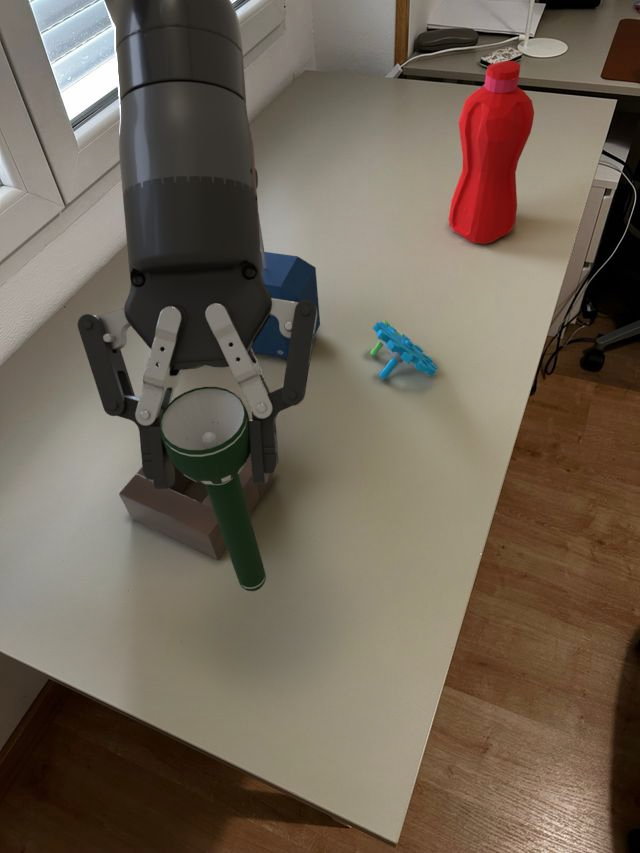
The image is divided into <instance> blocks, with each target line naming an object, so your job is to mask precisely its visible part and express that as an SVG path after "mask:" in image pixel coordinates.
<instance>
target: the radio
mask: <svg viewBox="0 0 640 853" xmlns="http://www.w3.org/2000/svg"><path fill="white" fill-rule="evenodd" d="M258 216H259V217H260V214H259V212H258ZM260 220H261V218H259V230H260V245H261V259H262V274H263V280H264V283H265V286H266V288H267V290H268V291H269V293H270V294H271V296H272V298H274V299H280V300H286V301H293V302H301V301H303V300H308V301H310V302H312V303H313V304H314V305H315V307H316V309H317V322H316V328H315V334H314V337H316V334H317V332H318V330H319V328H320V327H321V316H320V305H319V293H318V280H317V268H316V267H315V266H314V265H312V264H311V263H309V262H307V261H306V260H305V259H303V258H301V257H299V256H297V255H291V254H284V253H277V252H268V251H265V248H264V240H263V234H262V228H261V227H262V226H261V221H260ZM289 344H290V338H287V337H285V336H283V335H282V334H281V332H280V330H279V321H278V319H277V318H276V317H275V316H272V315H271V316H270V318H269V319H268V321H267V323H266V324H265V326H264V328H263V329H262V331H261V332H260V334H259V336H258V337H257V339H256V340H255V342H254V344H253V345H252V347H251V348H252V350H253V352H254V354H255V355H256V354H257V355H263V356H269V357H274V358H279V359H284V360H287V357H288V351H289Z"/></svg>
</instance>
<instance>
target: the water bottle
mask: <svg viewBox="0 0 640 853" xmlns="http://www.w3.org/2000/svg"><path fill="white" fill-rule="evenodd" d="M520 71H521V65H520V64H519V63H518V62H516V61H514V60H503V61H497V62H495V63H494V62H493V63H492V64H489V65H488V66H487V67H486V71H485V72H486V73H485V78H484V84H483V85H481V86H479V87H478V89H476V90H474V91H473V92H472V93H471V94H470V95H468V97H467V98H466V99H465V101H464V104H463V106H462V110H461V113H460V116H459V120H458V130H459V138H460V146H461V154H462V166H461V167H462V169H461V172H460V175H459V178H458V181H457V184H456V187H455V189H454V192H453V195H452V198H451V200H450V207H449V213H448V214H449V215H448V223H449V227H450V228H451V229H452V231H453V232H454V233H456V234H458V235H460V236H461V237H463V238H464V239H465V240H466V241H468V242H471V243H473V244H483V245H485V244H489V243H492V242H495V241H496V240H498V239H499V238H501V237H504V236H507V235H508V234H509V233H510V232H511V231H512V230H513V228H514V227H515V224H516V219H517V211H518V195H517V194H518V192H517V177H516V172H517V168H518V163H519V161H520V158H521V156H522V154H523V152H524V150H525V147H526V144H527V142H528V140H529V138H530V136H531V133H532V128H533V123H534V117H535V110H534V105H533V100H532V99H531V98H530V97H529V95H528V94H527V93H526V92H525V91H524V90H523V89H521V88H520V87H519V86H518V84H519V79H521V77H520Z"/></svg>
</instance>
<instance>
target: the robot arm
mask: <svg viewBox="0 0 640 853" xmlns="http://www.w3.org/2000/svg"><path fill="white" fill-rule="evenodd" d="M103 3H104V6H105V8H106V11H107V13H108V16H109V19H110V21H111V24H112V27H113V30H114V53H115V54H114V55H115V66H116V77H117V78H116V79H117V90H118V101H119V118H120V119H119V131H118V132H119V134H118V153H119V154H118V156H119V168H120V179H121V188H122V190H121V191H122V202H123V213H124V214H123V215H124V224H125V235H126V237H125V238H126V249H127V260H128V271H129V272H128V274H129V279H130V288H129V293H128V296H127V298H126V300H125V302H124V306H123V307H122V308H120V309H117V310H113V311H110V312H107V313H104V314H100V315H94V314H90V313H86V314H82V315H81V316H80V317H79V319H77V320H78V321H77V329H78V332H79V336H80V339H81V342H82V345H83V348H84V351H85V354H86V358H87V361H88V364H89V367H90V370H91V373H92V377H93V381H94V382H95V386H96V389H97V392H98V395H99V398H100V401H101V404H102V408H103V410H104V412H105V413H106V414H107V415H109V416H111V417H118V418H122V419H126V420H129V421H131V422H133V423H134V424H135V425H136V426H137V428H138V431H139V432H138V433H139V444H140V454H141V456H140V457H141V468H142V469H143V473H144V475H145V477H146V479H147V480H153V481H154V487H155V489H168V488H170V487H171V486H173V485H174V482H175V472H174V465H173V464H172V462H171V460H170V457H169V455H168V453H167V450H166V448H165V445H164V442H163V440H162V437H161V432H160V421H161V417H162V414H163V412H164V410H165V409H166V407H167V406H168V404H169V403H171V402H172V399H173V395H174V392H175V390H176V388H177V386H178V384H179V381H180V379H181V375H182V372H183V371H184V370H196V369H199V368H202V367H205V366H207V367H213V368H229V369H230V372H231V373H232V375H233V377H234V379H235V381H236V383H237V384H238V386H239V387H240V389H241V391H242V393H243V396H244V398H245V400H246V402H247V404H248V406H249V409H250V411H251V419H249V420H250V421H248V423H249V437H250V450H251V464H252V478H253V483H254V484H263V483H266V482H267V480H268V473H273V474H274V473H275V471H276V470H277V466H278V464H279V452H278V451H279V449H278V448H279V447H278V435H277V417H278V415H279V413H281V412H282V411H284V410H286V409H289V408H292V407H293V406H297V405H299V404H300V403H302V402H303V401H304V399H305V397H306V391H307V385H308V379H309V371H310V366H311V359H312V354H313V347H314V340H315V336H314V334H315V328H316V322H317V309H316V307H315V305H314V304H313V303H312V302H310V301H308V300H303V301H301V302H293V301H286V300H280V299H274V298H272V296H271V294H270V293H269V291H268V290H267V288H266V286H265V283H264V280H263V274H262V259H261V245H260V230H259V219H260V215H259V216H258V213H259V204H258V202H259V201H258V191H257V189H258V185H259V177H258V170H257V169H256V161H255V160H256V159H255V150H254V142H253V136H252V130H251V126H250V122H249V117H248V109H247V94H246V80H245V78H246V77H245V66H244V64H245V63H244V52H243V40H242V33H241V28H240V21H239V17H238V14H237V11H236V9H235V7H234V4H233V2H232V1H231V0H103ZM271 315H272V316H275V317H276V318H277V319H278V321H279V330H280V332H281V334H282V335H283V336H285V337H287V338H290V344H289V351H288V357H287V359H286V364H285V370H284V371H285V372H284V378H283V385H282V387H280V388H278V389H276V390H273V391H271V389H270V387H269V384H268V382H267V380H266V379H265V376H264V373H263V370H262V367H261V365H260V363H259V361H258V359H257V357H256V354H255V353H254V352H253V350H252V348H251V347H252V345H253V344H254V342H255V340H256V339H257V337H258V336H259V334H260V332H261V331H262V329H263V328H264V326H265V324H266V323H267V321H268V319H269V318H270V316H271ZM130 328H132V329H133V330H134V331H135V332H136V334H137V335H138V336H139V337H140V338H141V340H142V341H143V342H144V343H145V344H146V346H147V347H148V348H149V349H150V352H149V354H148V355H149V356H148V359H147V362H146V366H145V369H144V373H143V375H142V384H143V385H142V388H141V392H140V395H139V397H137V396H136V395H135V392H134V387H133V384H132V381H131V379H130V375H129V373H128V368H127V366H126V362H125V360H124V356H123V353H122V350H121V349H124V348H125V346H126V345H127V342H128V339H127V332H128V330H129V329H130ZM315 335H316V334H315Z"/></svg>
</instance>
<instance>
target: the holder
mask: <svg viewBox="0 0 640 853" xmlns="http://www.w3.org/2000/svg"><path fill="white" fill-rule="evenodd" d="M174 472H175V482H174V485H173V486H171V487H170V488H168V489H155V487H154V481H153V480H147V479H146V477H145V475H144V473H143V469H142V467H140V469H138V471H137V472H136V473H135V475H134V476H133V477H131V479H130V480H129V481H128V483H127V484H126V485H125V486H124V487H123V488H122V490H120V492H119V493H118V495H119V498H120V499H121V501H122V503H123V506H124V507H125V508H126V510H127V512H128V514H129V517H130V518H131V519H132V520H134V521H135V522H138V523H140V524H141V525H144V526H146V527H148V528H150V529H152V530H154V531H156V532H158V533H160V534H162V535H164V536H166V537H169V538H171V539H173V540H175V541H177V542H179V543H181V544H183V545H185V546H187V547H190V548H191V549H194V550H195V551H198V552H200V553H202V554H205V555H206V556H209V557H210V558H212V559H215V560H217V561H219V559H220V557H221V556H222V555H223V553H224V552H225V551H226V550H227V547H226V544H225V541H224V538H223V535H222V532H221V529H220V526H219V523H218V521H217V518H216V515H215V512H214V509H213V506H212V503H211V500H210V497H209V495H208V494H207V496H205V498H204V499H203V500H202V501H201V502H200V501H198V500H196V499H193V498H191V497H189V496H187V495H185V494H182V492H183V491H184V489H185V488H186V487H187V486H188V484H189V483H190V482H191V481H192V479H190V478H188V477H186V476H185V475H184V474H183V473H181V472H180V471H179V470H178V469H177V468H176V467H175V466H174ZM239 477H240V481H241V485H242V488H243V492H244V496H245V499H246V503H247V507H248V511H249V514H252V511H253V510H254V508H255V507H256V506H257V504H258V503H259V501H260V500H261V499H262V497H263V496H264V495H265V493H266V491H267V490H268V489H269V487H270V486H271V484H272V482H274V480H275V476H274V473H268V480H267V482H266V483H263V484H254V483H253V478H252V464H251V453H250V456H249V458H248V460H247V461H246V463H245V466H244V468H243V469H242V470H241V471H240V473H239Z"/></svg>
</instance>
